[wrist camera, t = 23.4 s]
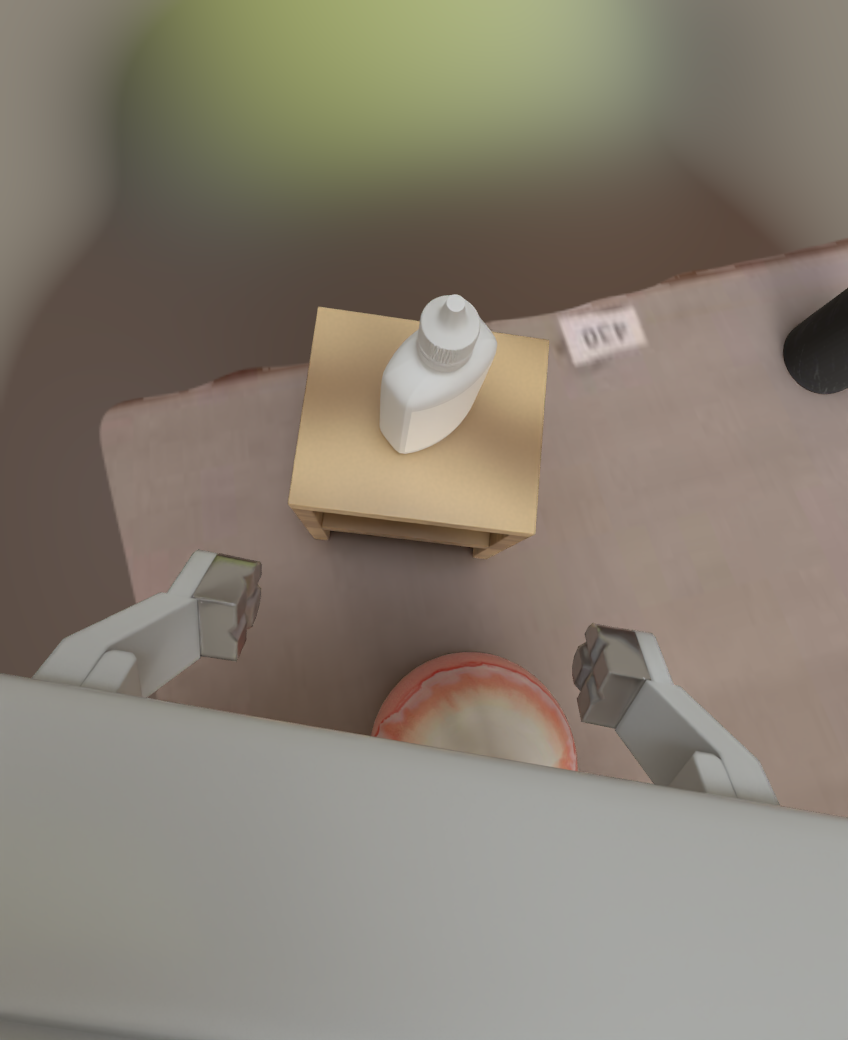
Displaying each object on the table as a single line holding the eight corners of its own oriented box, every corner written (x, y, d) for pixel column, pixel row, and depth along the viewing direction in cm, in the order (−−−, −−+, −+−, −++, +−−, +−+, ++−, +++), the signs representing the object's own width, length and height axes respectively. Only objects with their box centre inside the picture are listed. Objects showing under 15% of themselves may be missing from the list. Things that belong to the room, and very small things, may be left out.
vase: (361, 657, 44) (352, 684, 26) (533, 638, 45) (631, 651, 28) (377, 848, 42) (379, 1013, 24) (557, 821, 43) (681, 959, 26)
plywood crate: (487, 559, 46) (535, 534, 32) (313, 538, 45) (287, 504, 31) (499, 419, 48) (549, 339, 34) (334, 397, 47) (317, 306, 33)
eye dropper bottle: (479, 446, 33) (539, 350, 21) (383, 458, 32) (389, 366, 20) (467, 375, 33) (518, 244, 22) (372, 386, 33) (372, 256, 21)
